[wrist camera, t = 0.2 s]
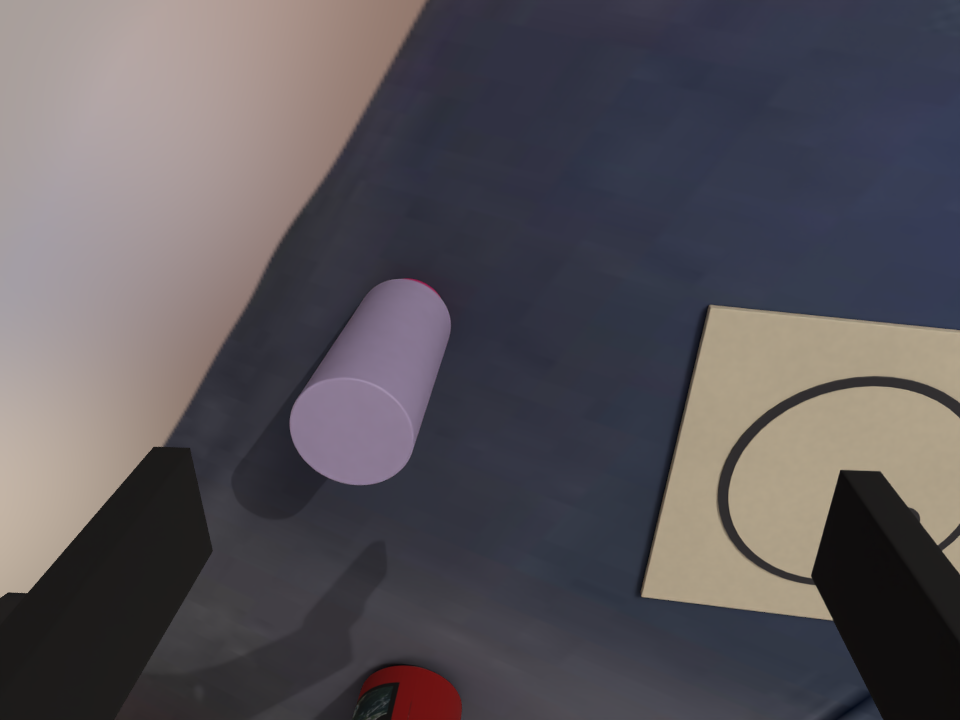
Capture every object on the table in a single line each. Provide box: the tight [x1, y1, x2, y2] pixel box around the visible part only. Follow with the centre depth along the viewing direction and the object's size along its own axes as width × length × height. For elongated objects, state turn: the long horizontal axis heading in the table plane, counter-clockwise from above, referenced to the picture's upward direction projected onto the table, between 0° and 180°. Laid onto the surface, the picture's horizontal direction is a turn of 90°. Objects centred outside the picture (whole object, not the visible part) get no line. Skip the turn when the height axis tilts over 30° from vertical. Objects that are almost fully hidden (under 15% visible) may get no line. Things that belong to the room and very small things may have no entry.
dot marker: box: [290, 278, 451, 485], centre depth 29 cm, size 4×4×11 cm
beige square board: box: [641, 305, 960, 620], centre depth 36 cm, size 18×18×1 cm
